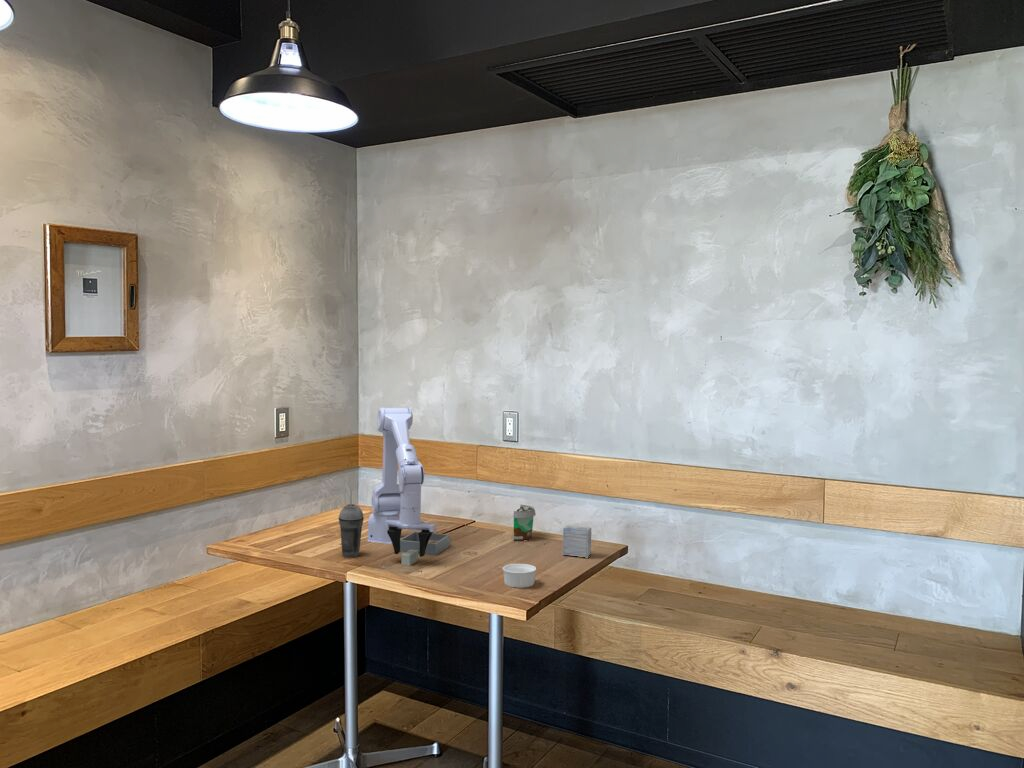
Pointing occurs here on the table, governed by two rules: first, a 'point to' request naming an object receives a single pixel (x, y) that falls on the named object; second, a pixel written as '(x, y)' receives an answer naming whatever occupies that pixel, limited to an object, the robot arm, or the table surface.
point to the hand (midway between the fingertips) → (409, 554)
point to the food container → (523, 523)
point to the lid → (407, 560)
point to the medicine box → (577, 541)
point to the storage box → (432, 548)
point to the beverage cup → (351, 529)
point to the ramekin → (519, 575)
